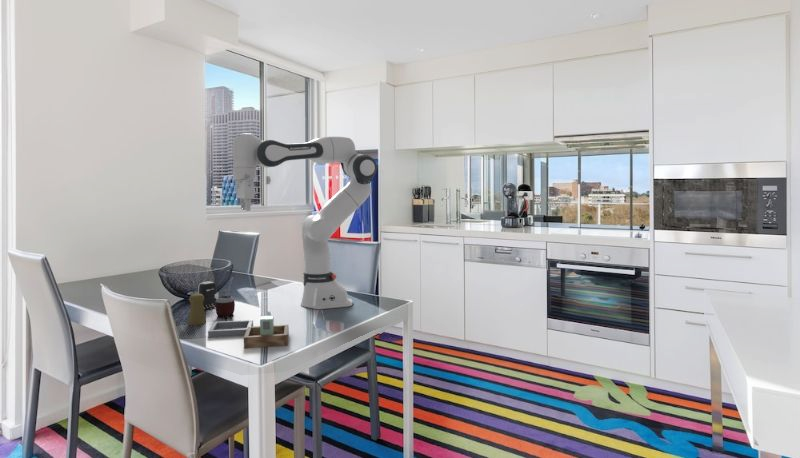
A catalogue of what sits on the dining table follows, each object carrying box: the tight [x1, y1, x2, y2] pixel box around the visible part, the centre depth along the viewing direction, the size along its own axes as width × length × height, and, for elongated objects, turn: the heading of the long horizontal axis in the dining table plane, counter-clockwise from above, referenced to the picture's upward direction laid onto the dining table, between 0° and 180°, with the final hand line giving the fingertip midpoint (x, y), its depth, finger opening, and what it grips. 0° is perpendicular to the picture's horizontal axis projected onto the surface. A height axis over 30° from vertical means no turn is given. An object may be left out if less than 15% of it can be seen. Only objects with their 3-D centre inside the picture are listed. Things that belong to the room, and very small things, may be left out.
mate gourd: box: [215, 276, 236, 320], centre depth 176 cm, size 8×8×15 cm
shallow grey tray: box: [207, 319, 254, 339], centre depth 159 cm, size 13×11×2 cm
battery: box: [197, 281, 217, 312], centre depth 187 cm, size 7×4×11 cm, turn 147°
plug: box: [259, 315, 275, 335], centre depth 148 cm, size 4×5×8 cm
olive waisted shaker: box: [188, 293, 207, 327], centre depth 168 cm, size 6×6×11 cm
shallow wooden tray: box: [243, 324, 290, 349], centre depth 149 cm, size 13×11×4 cm
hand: (245, 210), depth 178 cm, fingers open, 8 cm apart
